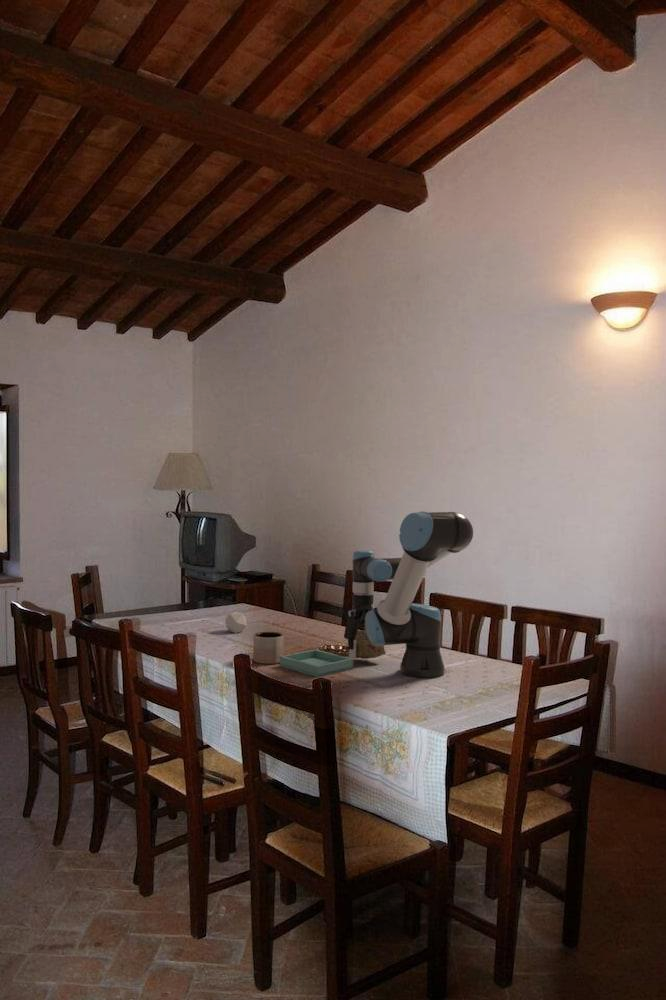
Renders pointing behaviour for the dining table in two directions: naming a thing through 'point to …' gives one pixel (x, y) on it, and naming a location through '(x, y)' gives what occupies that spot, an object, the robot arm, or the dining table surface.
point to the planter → (268, 647)
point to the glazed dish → (316, 663)
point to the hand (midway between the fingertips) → (362, 656)
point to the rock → (366, 646)
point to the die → (235, 622)
